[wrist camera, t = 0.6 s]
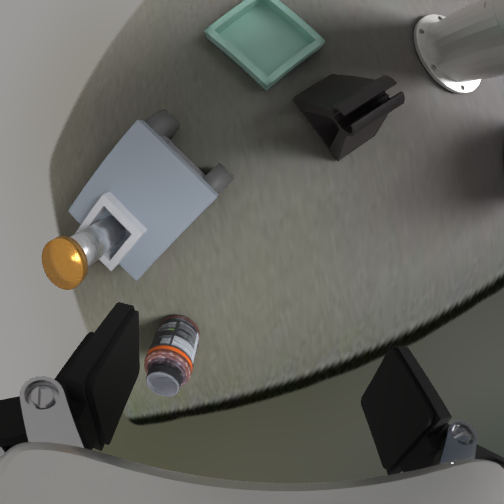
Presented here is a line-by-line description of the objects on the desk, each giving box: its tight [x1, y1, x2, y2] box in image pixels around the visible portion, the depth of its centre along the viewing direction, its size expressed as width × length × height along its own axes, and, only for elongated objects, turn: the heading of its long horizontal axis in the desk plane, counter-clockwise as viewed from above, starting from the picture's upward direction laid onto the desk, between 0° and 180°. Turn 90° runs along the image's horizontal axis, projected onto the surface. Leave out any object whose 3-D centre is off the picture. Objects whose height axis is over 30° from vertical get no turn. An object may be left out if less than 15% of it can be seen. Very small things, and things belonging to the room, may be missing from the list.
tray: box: [204, 0, 326, 91], centre depth 27 cm, size 9×10×3 cm
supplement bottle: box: [144, 315, 199, 396], centre depth 35 cm, size 6×6×11 cm
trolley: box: [68, 110, 234, 281], centre depth 30 cm, size 11×15×9 cm
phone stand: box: [293, 74, 405, 161], centre depth 25 cm, size 9×6×12 cm, turn 37°
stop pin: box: [42, 216, 126, 290], centre depth 23 cm, size 4×4×10 cm
